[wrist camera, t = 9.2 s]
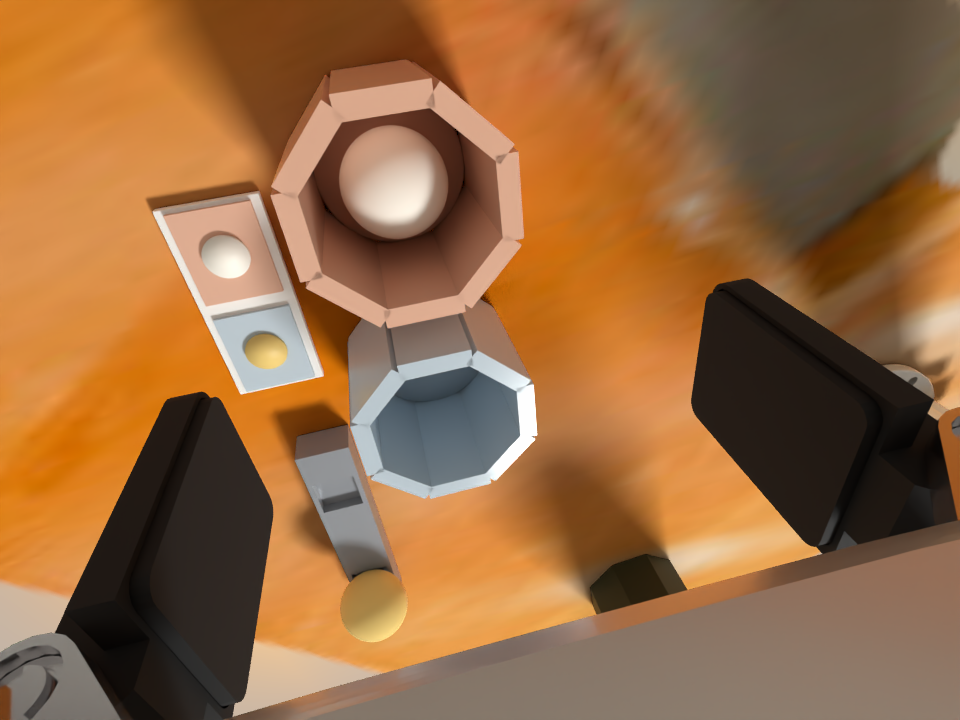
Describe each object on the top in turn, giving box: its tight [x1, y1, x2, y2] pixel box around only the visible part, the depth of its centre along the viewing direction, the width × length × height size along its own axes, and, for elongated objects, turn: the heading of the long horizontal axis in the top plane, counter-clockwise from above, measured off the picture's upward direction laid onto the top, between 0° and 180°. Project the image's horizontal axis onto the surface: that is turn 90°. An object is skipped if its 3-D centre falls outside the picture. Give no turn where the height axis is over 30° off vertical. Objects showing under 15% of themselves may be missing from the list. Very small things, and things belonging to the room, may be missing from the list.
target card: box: [153, 191, 324, 394], centre depth 25 cm, size 4×10×1 cm, turn 6°
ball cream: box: [339, 125, 448, 239], centre depth 21 cm, size 4×4×4 cm
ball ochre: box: [340, 569, 408, 642], centre depth 35 cm, size 4×4×4 cm
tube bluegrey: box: [348, 299, 537, 499], centre depth 27 cm, size 8×8×7 cm
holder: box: [295, 425, 402, 583], centre depth 35 cm, size 3×16×2 cm, turn 6°
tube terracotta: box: [270, 59, 524, 328], centre depth 21 cm, size 8×8×7 cm
